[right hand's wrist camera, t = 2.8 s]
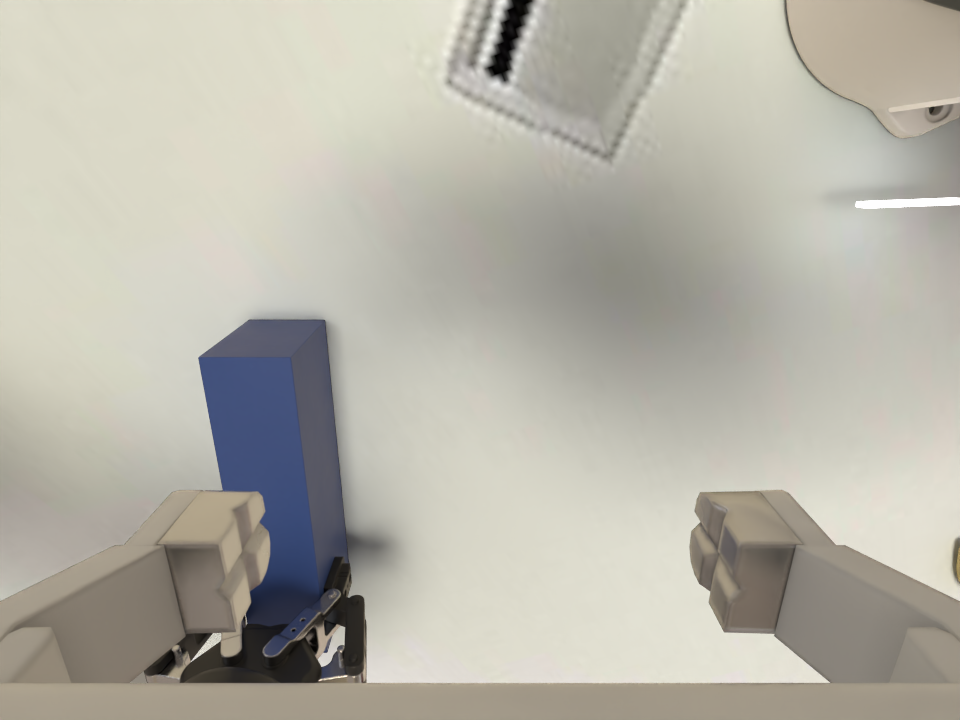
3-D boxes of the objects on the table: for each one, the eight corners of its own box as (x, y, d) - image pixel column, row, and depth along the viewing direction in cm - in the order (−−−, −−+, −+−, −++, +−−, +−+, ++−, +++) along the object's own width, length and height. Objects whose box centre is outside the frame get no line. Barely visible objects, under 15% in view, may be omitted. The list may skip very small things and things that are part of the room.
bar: (248, 319, 41) (197, 357, 33) (325, 319, 41) (290, 357, 33) (286, 577, 49) (252, 653, 41) (350, 577, 49) (327, 653, 41)
